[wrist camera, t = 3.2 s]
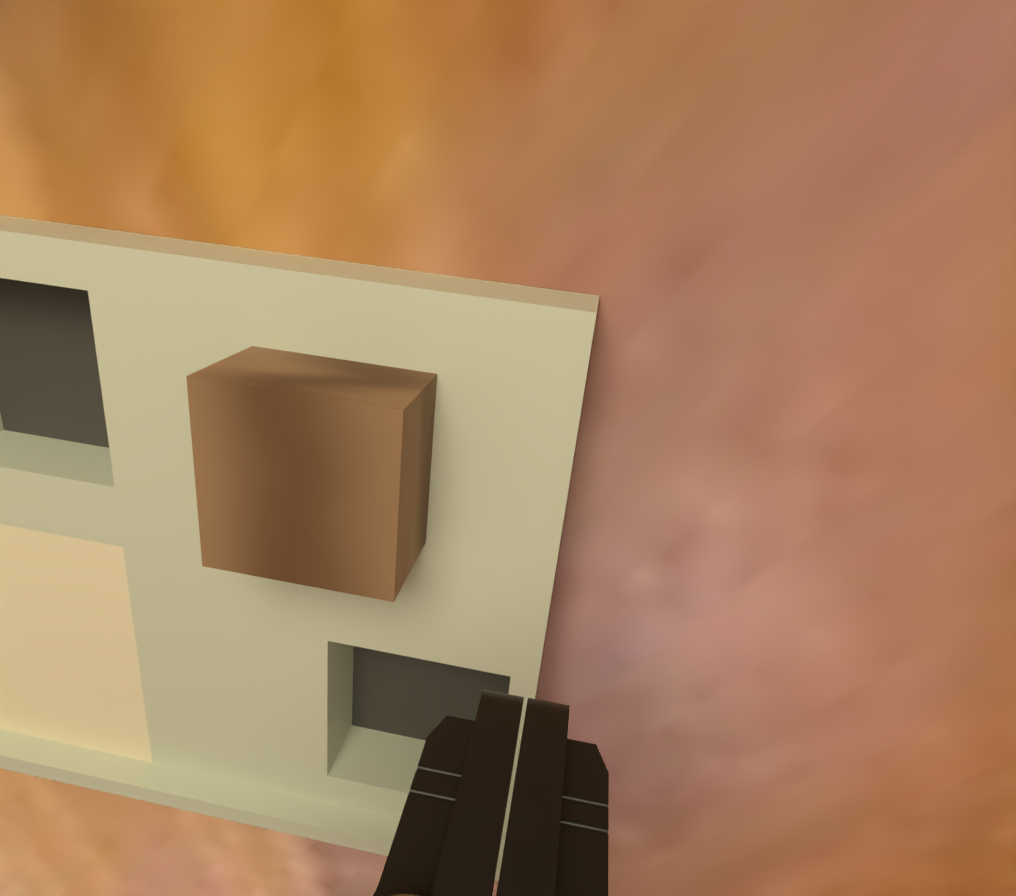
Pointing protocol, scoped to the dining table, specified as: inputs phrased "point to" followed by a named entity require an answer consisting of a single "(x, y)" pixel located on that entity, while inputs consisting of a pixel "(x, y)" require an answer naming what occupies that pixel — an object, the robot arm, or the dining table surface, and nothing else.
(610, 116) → the dining table surface
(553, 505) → the box
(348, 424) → the block
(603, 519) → the dining table surface
